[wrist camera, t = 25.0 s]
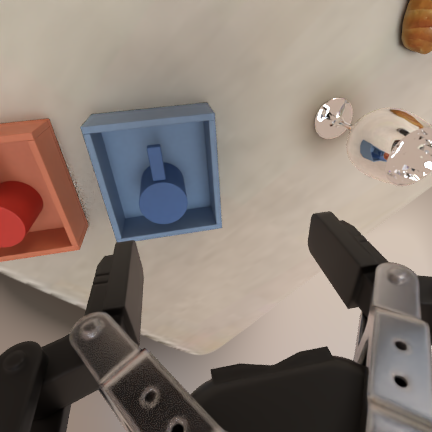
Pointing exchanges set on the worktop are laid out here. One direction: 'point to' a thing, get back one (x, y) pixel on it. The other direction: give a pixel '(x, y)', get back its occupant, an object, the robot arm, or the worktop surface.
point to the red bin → (41, 189)
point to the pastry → (418, 26)
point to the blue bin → (138, 162)
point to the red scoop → (17, 211)
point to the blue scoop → (162, 190)
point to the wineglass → (380, 141)
